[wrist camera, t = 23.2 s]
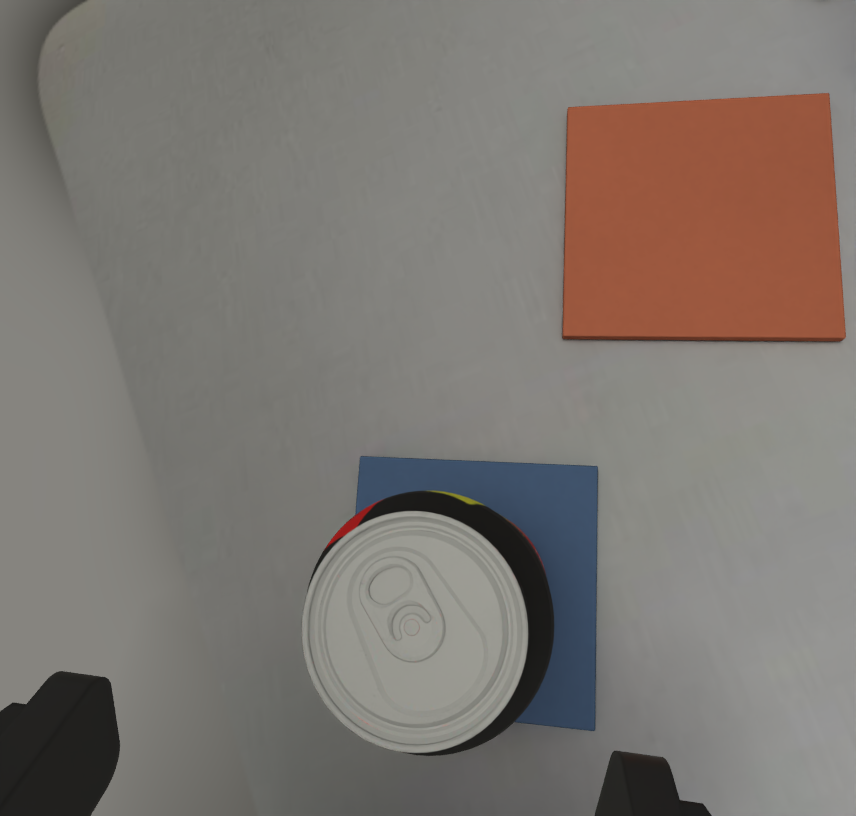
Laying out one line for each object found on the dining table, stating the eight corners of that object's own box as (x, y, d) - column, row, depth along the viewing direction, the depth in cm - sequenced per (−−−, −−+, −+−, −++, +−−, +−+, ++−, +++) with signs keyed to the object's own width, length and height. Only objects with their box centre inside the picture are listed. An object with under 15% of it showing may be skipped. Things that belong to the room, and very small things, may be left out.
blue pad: (343, 699, 26) (339, 702, 26) (362, 457, 28) (359, 456, 28) (593, 727, 24) (595, 731, 24) (596, 467, 26) (597, 466, 26)
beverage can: (441, 700, 25) (358, 842, 13) (364, 558, 27) (231, 574, 15) (579, 618, 25) (616, 688, 13) (493, 479, 26) (459, 433, 15)
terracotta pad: (562, 339, 28) (562, 335, 27) (567, 113, 30) (567, 106, 29) (840, 341, 26) (846, 338, 25) (824, 100, 28) (829, 92, 27)
